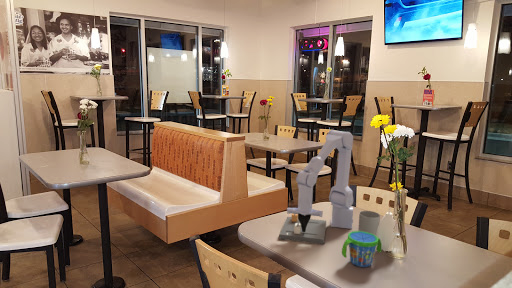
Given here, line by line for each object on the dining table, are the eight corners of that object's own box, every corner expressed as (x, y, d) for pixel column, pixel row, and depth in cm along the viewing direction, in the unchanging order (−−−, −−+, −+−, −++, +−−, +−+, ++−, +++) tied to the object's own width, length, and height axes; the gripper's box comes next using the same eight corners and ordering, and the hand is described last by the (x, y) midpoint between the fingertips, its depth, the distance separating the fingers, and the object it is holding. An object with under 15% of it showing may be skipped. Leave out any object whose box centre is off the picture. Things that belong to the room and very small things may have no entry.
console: (326, 224, 165) (326, 220, 164) (323, 244, 145) (323, 239, 144) (287, 220, 169) (287, 216, 169) (279, 238, 149) (279, 234, 148)
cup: (375, 233, 157) (377, 211, 155) (380, 241, 149) (382, 218, 147) (356, 232, 157) (357, 210, 156) (359, 240, 149) (361, 217, 148)
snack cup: (372, 254, 137) (374, 229, 135) (388, 268, 127) (390, 241, 125) (334, 258, 133) (336, 232, 132) (348, 272, 123) (349, 244, 121)
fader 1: (298, 218, 165) (298, 212, 165) (296, 221, 162) (297, 215, 161) (292, 218, 166) (292, 211, 165) (291, 221, 162) (291, 214, 162)
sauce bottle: (378, 244, 146) (382, 201, 143) (399, 249, 141) (403, 206, 138) (372, 251, 139) (376, 207, 136) (393, 257, 135) (397, 211, 132)
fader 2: (301, 230, 152) (301, 223, 152) (300, 234, 148) (300, 226, 148) (295, 229, 153) (295, 222, 152) (294, 233, 149) (294, 226, 148)
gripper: (286, 201, 145) (285, 232, 148) (322, 204, 142) (320, 237, 144) (288, 196, 152) (287, 226, 154) (323, 199, 149) (321, 230, 151)
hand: (303, 231), depth 150 cm, fingers closed
